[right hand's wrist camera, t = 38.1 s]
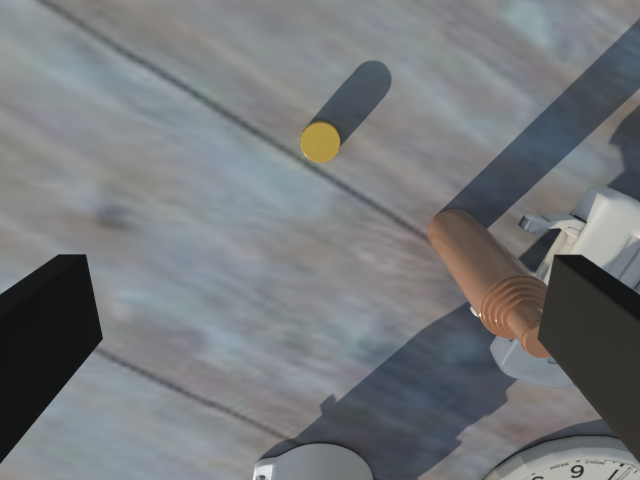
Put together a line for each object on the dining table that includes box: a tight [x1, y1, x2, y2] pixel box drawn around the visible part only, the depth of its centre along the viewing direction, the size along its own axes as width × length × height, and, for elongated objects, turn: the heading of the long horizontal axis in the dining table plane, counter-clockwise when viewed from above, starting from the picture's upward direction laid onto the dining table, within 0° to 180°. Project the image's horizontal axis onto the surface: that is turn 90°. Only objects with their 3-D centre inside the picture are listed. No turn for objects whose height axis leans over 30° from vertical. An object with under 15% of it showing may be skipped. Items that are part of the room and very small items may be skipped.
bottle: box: [428, 208, 551, 358], centre depth 38 cm, size 5×5×21 cm
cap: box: [301, 120, 341, 162], centre depth 43 cm, size 4×4×2 cm
